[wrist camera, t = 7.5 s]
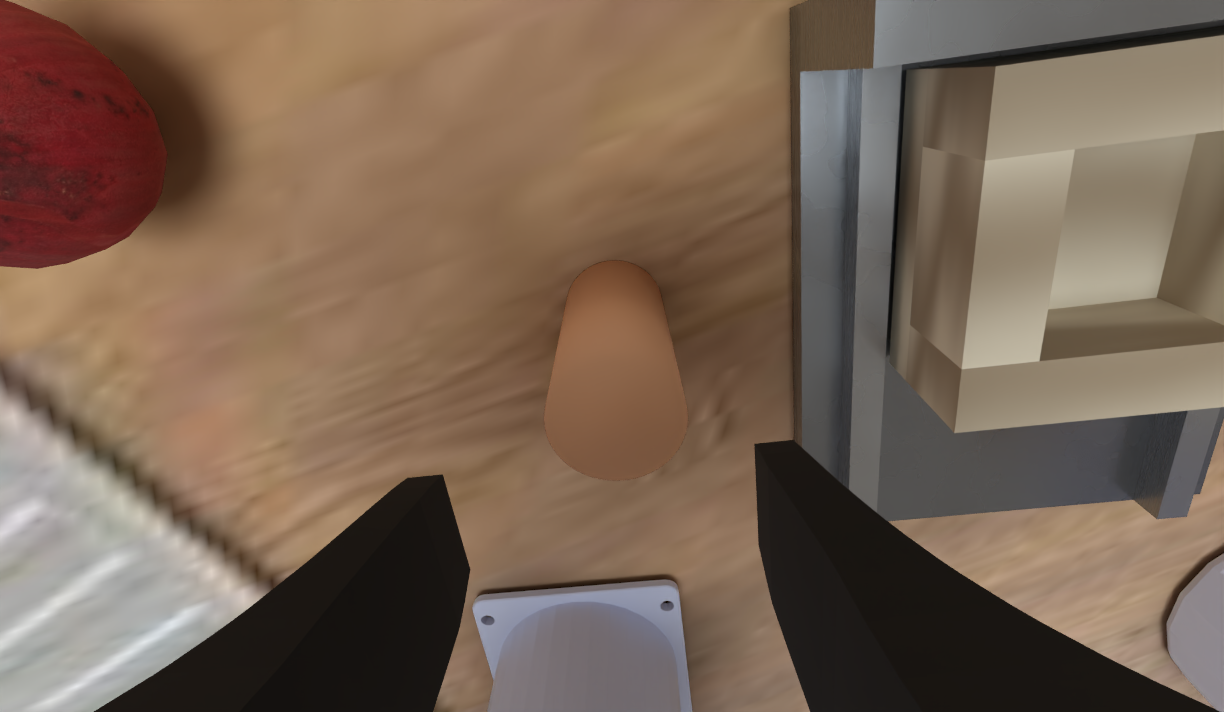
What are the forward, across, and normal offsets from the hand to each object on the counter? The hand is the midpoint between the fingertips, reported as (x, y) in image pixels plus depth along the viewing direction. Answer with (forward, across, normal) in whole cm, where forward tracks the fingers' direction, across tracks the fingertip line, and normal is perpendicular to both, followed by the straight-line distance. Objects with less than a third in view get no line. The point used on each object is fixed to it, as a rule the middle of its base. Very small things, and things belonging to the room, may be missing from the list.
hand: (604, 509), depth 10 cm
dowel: (+10, 0, 0) cm, 10 cm away
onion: (+10, +13, -7) cm, 18 cm away
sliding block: (+9, -12, -2) cm, 15 cm away
